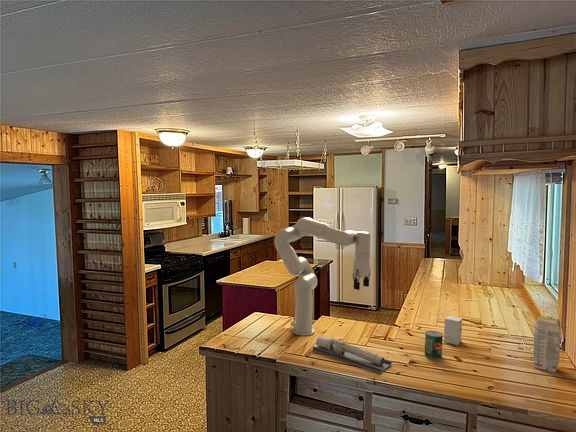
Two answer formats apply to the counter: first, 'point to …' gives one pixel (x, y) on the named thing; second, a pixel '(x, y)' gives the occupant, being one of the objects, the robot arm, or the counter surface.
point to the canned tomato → (433, 344)
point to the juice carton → (547, 343)
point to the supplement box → (453, 330)
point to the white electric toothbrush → (357, 352)
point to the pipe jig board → (348, 356)
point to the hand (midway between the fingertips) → (361, 287)
